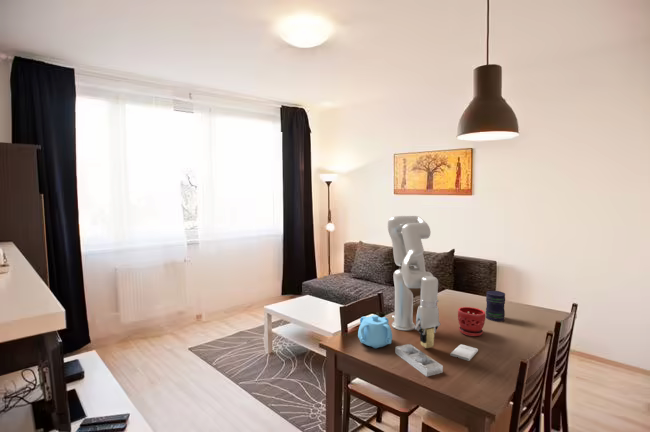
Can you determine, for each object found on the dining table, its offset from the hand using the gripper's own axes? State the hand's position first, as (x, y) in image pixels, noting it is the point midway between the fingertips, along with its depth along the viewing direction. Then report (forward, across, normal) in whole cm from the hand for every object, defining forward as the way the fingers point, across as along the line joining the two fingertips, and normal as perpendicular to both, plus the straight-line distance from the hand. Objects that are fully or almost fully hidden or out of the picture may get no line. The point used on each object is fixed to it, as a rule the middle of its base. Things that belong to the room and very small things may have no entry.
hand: (427, 340), depth 167 cm
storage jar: (+5, -61, -16) cm, 63 cm away
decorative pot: (+5, +19, -15) cm, 25 cm away
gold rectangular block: (+2, 0, 0) cm, 2 cm away
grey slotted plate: (+4, +12, +9) cm, 16 cm away
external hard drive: (+4, -13, +10) cm, 17 cm away
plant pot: (+5, -33, -6) cm, 34 cm away
